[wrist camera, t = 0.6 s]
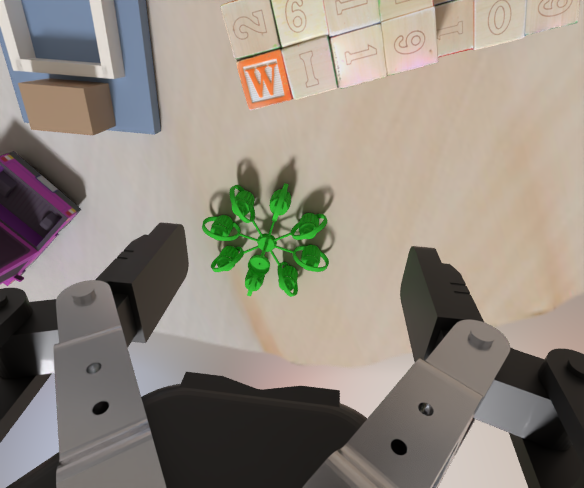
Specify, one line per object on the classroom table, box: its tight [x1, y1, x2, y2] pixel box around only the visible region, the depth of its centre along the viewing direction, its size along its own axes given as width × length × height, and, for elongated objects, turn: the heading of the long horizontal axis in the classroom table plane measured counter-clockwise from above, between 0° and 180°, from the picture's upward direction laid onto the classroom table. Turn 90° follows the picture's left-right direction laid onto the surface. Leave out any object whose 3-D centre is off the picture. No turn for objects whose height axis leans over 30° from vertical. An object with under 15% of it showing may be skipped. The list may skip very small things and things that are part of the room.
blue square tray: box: [0, 0, 161, 135], centre depth 32 cm, size 16×14×6 cm
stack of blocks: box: [221, 0, 580, 110], centre depth 26 cm, size 21×6×12 cm, turn 103°
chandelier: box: [202, 183, 329, 297], centre depth 40 cm, size 15×15×7 cm
